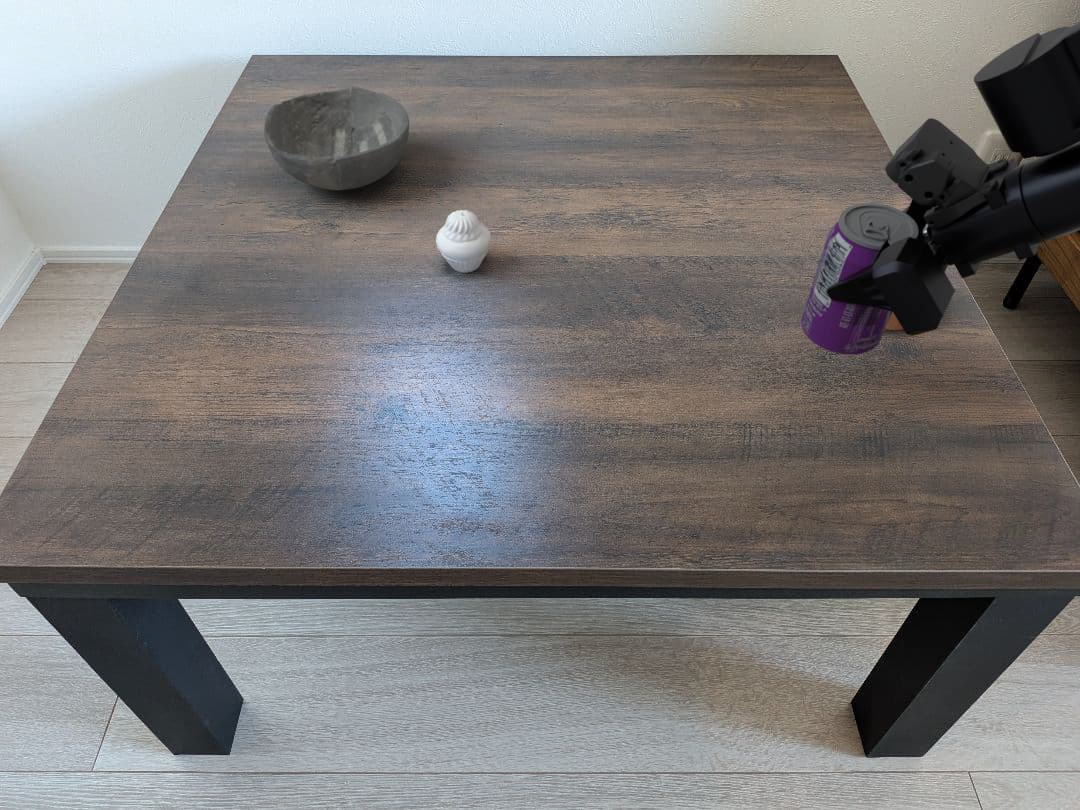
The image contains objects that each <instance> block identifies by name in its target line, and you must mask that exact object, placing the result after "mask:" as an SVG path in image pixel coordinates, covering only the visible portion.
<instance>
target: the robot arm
mask: <svg viewBox="0 0 1080 810" xmlns="http://www.w3.org/2000/svg"><path fill="white" fill-rule="evenodd" d="M973 82H974V84H975V86H976V88H977V90H978V92H979V93H980V95H981V98H982V99H983V101H984V103H985V105H986V107H987V109H988V111H989V114H991V117H992V118H993V121H994V123H995V124H996V126H997V128H998V130H999V132H1000V134H1001V136H1002V137H1003V140H1004V142H1005V143H1006V146H1007V147H1008V149H1009V151H1010V152H1012V153H1018V154H1020V155H1021V157H1022V159H1031V158H1034V157H1035V158H1034V159H1033V160H1030V161H1027V162H1025V163H1022V164H1019V165H1018V163H1017V162H1016V159H1015V158H1011V159H1009V160H1008V159H1007V158H1006V157H1004V158H1001V159H999V160H996V161H994V162H990V163H988V164H987V162H985V160H983V159H982V158H981V157H980V156H979V155H978V154H977V152H976V151H975V150H974V148H972V147H971V146H970V145H969V144H968V143H967V142H965V141H964V140H963V139H962V138H961V137H959V136H958V135H957V134H955V133H954V132H953V131H952V130H950V128H948V126H946V125H945V124H944V123H942V121H939V120H938V119H936V118H934V117H933V118H931V117H930V118H927V119H926V120H925V121H924V122H923V123H922V124H921V125H920V126H919V127H918V128H917V129H916V130H915V131H914V132H913V133H912V134H911V135H909V137H908V138H907V139H906V140H905V141H904V142H903V143H902V144H901V145H900V146H899V147H898V148H897V149H896V150H895V153H894V154H893V156H892V157H891V158H890V160H889V161H888V162H887V163H886V165H885V168H884V169H885V173H886V175H887V177H888V178H889V179H890V180H891V181H892V182H893V183H895V184H896V185H897V187H898V188H899V189H900V190H901V191H902V192H903V193H905V194H906V195H907V196H908V197H909V198H911V201H910V204H909V205H908V206H907V207H906V208H905V209H903V210H902V211H903V212H904V213H906V214H907V215H909V216H910V217H911V218H912V219H913V220H914V221H915V222H916V224H917V226H918V229H919V233H918V236H917V238H916V239H915V238H912V237H907V238H904V239H902V240H899V241H896V242H895V243H893V244H892V245H890V244H889V242H888V241H887V240H885V242H884V243H883V245H882V247H881V248H880V250H879V251H878V253H877V255H876V256H875V258H874V261H873V264H871V265H869V266H867V267H865V268H863V269H862V270H860V271H858V272H856V273H854V274H852V275H850V276H848V277H846V278H844V279H842V280H841V281H839V282H837V283H835V284H834V285H832V286H830V287H829V288H828V289H827V290H826V292H827V294H828V296H829V297H830V299H831V300H833V301H838V302H844V303H850V304H856V305H863V306H869V307H874V308H879V309H884V310H887V311H891V312H893V313H894V315H895V316H896V318H897V320H898V321H899V323H900V325H901V326H902V328H903V332H904V333H905V335H908V336H911V337H913V336H916V335H917V336H918V335H920V334H925V333H928V332H931V331H936V330H938V327H939V326H940V323H941V321H942V319H943V317H944V315H945V313H946V311H947V308H948V307H949V305H950V303H951V301H952V298H953V296H954V294H955V293H956V289H955V288H954V286H953V284H952V283H951V281H950V279H949V277H948V276H947V274H946V271H947V269H948V267H949V266H951V267H952V266H954V267H955V269H956V271H957V273H958V274H959V276H960V277H961V279H965V278H968V277H971V276H974V275H976V274H977V272H978V270H979V267H980V266H981V263H982V262H986V261H989V260H992V259H995V258H998V257H1001V256H1004V255H1007V254H1010V253H1013V252H1014V253H1015V255H1016V257H1017V259H1018V261H1022V260H1025V259H1028V258H1031V257H1035V256H1036V253H1037V251H1038V247H1039V246H1040V244H1041V243H1044V242H1047V241H1051V240H1053V239H1056V238H1060V237H1063V236H1067V235H1069V234H1072V233H1076V232H1078V231H1080V22H1078V23H1075V24H1073V25H1071V26H1062V27H1057V28H1055V29H1052V30H1048V31H1046V32H1044V33H1042V34H1040V32H1037V33H1035V34H1033V35H1030V36H1028V37H1027V38H1025V39H1023V40H1021V41H1020V42H1018V43H1016V44H1014V45H1013V46H1011V47H1009V48H1008V49H1006V50H1005V51H1003V52H1002V53H1000V54H999V55H997V56H996V57H995V58H992V59H991V60H990V61H989V62H987V63H986V64H985V65H984V66H983V67H982V68H980V69H979V70H978V71H977V73H976V74H974V77H973Z"/></svg>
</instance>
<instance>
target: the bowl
mask: <svg viewBox="0 0 1080 810" xmlns="http://www.w3.org/2000/svg"><path fill="white" fill-rule="evenodd" d="M263 129H264V131H263V136H264V141H265V143H266V144H267V146H268V149H269V150H270V153H271V155H272V158H273V160H275V162H276V163H277V164H278V166H279V167H280V168H281V169H283V171H284V172H285V173H287V174H288V175H290V176H291V177H293V178H294V179H296V180H297V181H299V182H301V183H303V184H307V185H310V186H312V187H314V188H319V189H324V190H332V191H344V190H345V191H346V190H353V189H357V188H363V187H365V186H368V185H370V184H372V183H374V182H377V181H378V180H380V179H382V178H383V177H385V176H386V175H388V174H389V173H390V172H391V171H392V170H393V169H394V168H396V167H397V165H398V164H399V162H400V160H401V159H402V157H403V154H404V152H405V151H406V147H407V144H408V140H409V132H410V118H409V115H408V113H407V111H406V109H405V107H403V105H402V104H401V103H400V102H399V101H397V100H396V99H395V98H392V96H390V95H388V94H385V93H384V92H383V93H382V92H376V91H375V90H371V89H368V88H367V89H366V88H361V87H355V86H351V87H345V88H342V89H341V88H340V89H337V90H328V91H320V92H312V93H305V94H301V95H298V96H296V97H292V98H291V99H288V100H283V101H281V102H280V103H277V104H274V105H273V106H272V107H271V108H270V109H269V111H268V112H267V115H266V117H265V121H264V127H263Z"/></svg>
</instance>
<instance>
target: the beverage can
mask: <svg viewBox="0 0 1080 810" xmlns="http://www.w3.org/2000/svg"><path fill="white" fill-rule="evenodd" d="M827 233H828V234H827V237H826V240H825V243H824V246H823V249H822V252H821V256H820V258H819V261H818V265H817V269H816V270H815V271H816V272H815V274H814V278H813V281H812V284H811V287H810V289H809V294H808V297H807V300H806V303H805V306H804V309H803V312H802V316H801V321H800V325H801V328H802V332H803V333H804V334H805V336H806V337H807V338H808V340H810V341H811V342H812V343H813V344H815V345H817V346H818V347H820V348H822V349H823V350H826V351H829V352H831V353H835V354H840V355H847V356H849V355H850V356H852V355H862V354H865V353H867V352H870V351H872V350H874V349H875V348H876V347H877V346H878V345H880V342H881V340H882V337H883V335H884V333H885V330H886V329H885V328H886V326H887V324H888V321H889V319H890V316H891V314H892V312H891V311H887V310H884V309H879V308H874V307H869V306H863V305H856V304H850V303H844V302H838V301H833V300H831V299H830V297H829V296H828V294H827V292H826V290H827V289H828V288H829V287H830V286H832V285H834V284H835V283H837V282H839V281H841V280H842V279H844V278H846V277H848V276H850V275H852V274H854V273H856V272H858V271H860V270H862V269H863V268H865V267H867V266H869V265H871V264H873V261H874V258H875V256H876V255H877V253H878V251H879V250H880V248H881V247H882V245H883V243H884V242H885V240H887V241H888V242H889V244H890V245H892V244H893V243H895V242H896V241H899V240H902V239H904V238H907V237H912V238H915V239H916V238H917V236H918V233H919V229H918V226H917V224H916V222H915V221H914V220H913V219H912V218H911V217H910V216H909V215H907V214H906V213H904V212H903V210H901V209H898V208H896V207H894V206H890V205H887V204H881V203H875V202H863V203H862V202H861V203H857V204H853V205H850V206H848V207H846V208H845V209H844V210H842V211H841V213H840V214H839V218H838V221H837V222H836V223H834V225H832V227H830V229H829V231H828V232H827Z"/></svg>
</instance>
